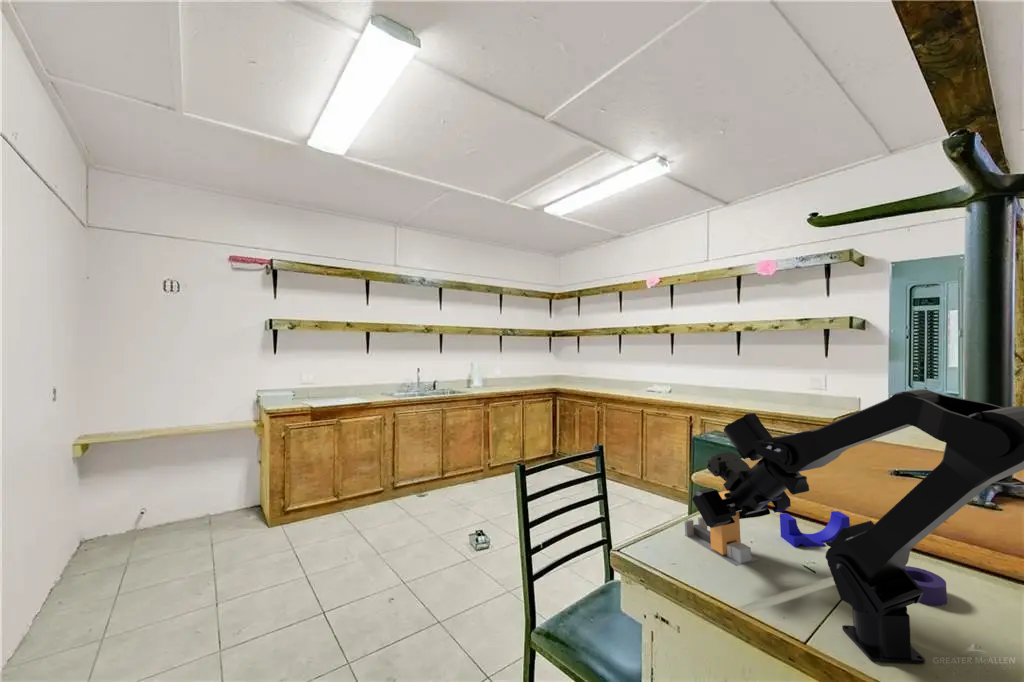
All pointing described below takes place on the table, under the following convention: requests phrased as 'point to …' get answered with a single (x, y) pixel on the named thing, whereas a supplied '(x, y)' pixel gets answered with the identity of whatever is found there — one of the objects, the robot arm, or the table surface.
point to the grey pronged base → (701, 535)
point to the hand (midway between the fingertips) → (719, 519)
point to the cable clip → (828, 534)
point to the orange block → (725, 533)
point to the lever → (929, 586)
